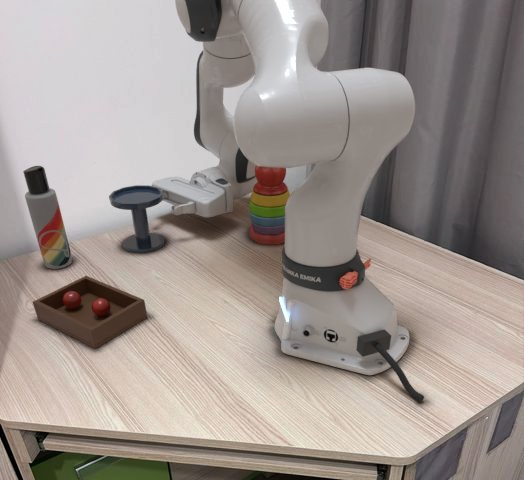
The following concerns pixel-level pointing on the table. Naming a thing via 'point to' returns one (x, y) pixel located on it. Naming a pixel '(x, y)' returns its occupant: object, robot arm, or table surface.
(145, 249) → the footed dish
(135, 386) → the table surface
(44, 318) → the walnut tray
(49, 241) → the lotion bottle
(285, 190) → the stacking bear
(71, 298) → the ball
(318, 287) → the robot arm
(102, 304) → the ball
